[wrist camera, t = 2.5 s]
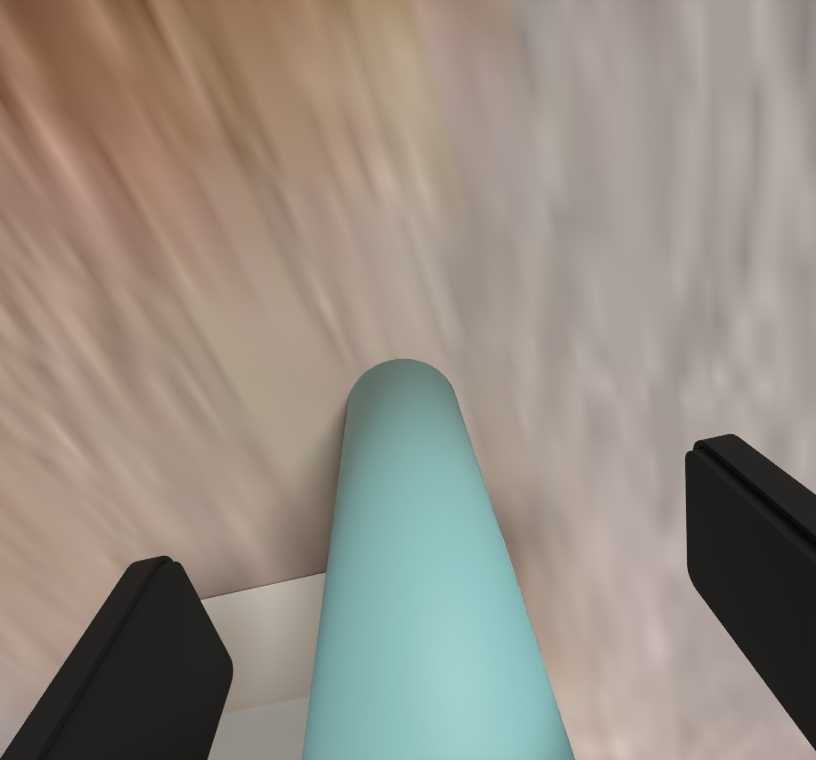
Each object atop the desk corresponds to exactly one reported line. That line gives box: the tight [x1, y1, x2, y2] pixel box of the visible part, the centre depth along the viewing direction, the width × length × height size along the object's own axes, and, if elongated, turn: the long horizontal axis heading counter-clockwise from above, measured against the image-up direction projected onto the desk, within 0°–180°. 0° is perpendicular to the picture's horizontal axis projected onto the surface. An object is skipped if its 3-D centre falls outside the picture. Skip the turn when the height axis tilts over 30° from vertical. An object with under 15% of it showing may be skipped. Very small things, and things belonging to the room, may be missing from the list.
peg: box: [302, 359, 575, 760], centre depth 9 cm, size 3×3×10 cm
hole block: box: [201, 534, 540, 760], centre depth 16 cm, size 12×12×4 cm
